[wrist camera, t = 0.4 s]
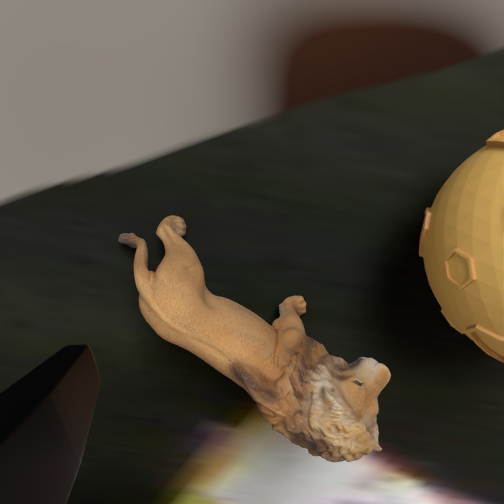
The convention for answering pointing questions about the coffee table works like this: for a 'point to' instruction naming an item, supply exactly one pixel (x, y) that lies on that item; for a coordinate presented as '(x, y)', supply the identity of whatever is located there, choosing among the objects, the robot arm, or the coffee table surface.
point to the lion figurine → (262, 353)
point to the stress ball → (470, 247)
